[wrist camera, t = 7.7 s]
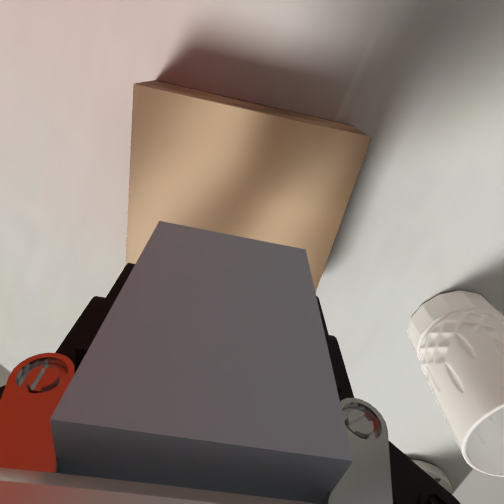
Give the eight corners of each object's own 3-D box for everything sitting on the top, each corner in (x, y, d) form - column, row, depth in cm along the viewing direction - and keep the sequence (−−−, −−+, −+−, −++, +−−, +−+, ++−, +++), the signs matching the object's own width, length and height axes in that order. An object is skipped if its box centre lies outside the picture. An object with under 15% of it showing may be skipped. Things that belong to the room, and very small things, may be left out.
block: (306, 249, 12) (353, 461, 6) (270, 349, 14) (279, 568, 8) (159, 220, 11) (49, 419, 5) (150, 329, 14) (68, 546, 8)
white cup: (484, 357, 30) (577, 477, 21) (392, 359, 30) (448, 479, 22) (512, 281, 26) (640, 390, 18) (408, 284, 27) (484, 392, 18)
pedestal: (352, 125, 21) (371, 137, 18) (299, 285, 27) (305, 319, 23) (154, 80, 20) (133, 83, 17) (142, 256, 26) (124, 287, 22)
